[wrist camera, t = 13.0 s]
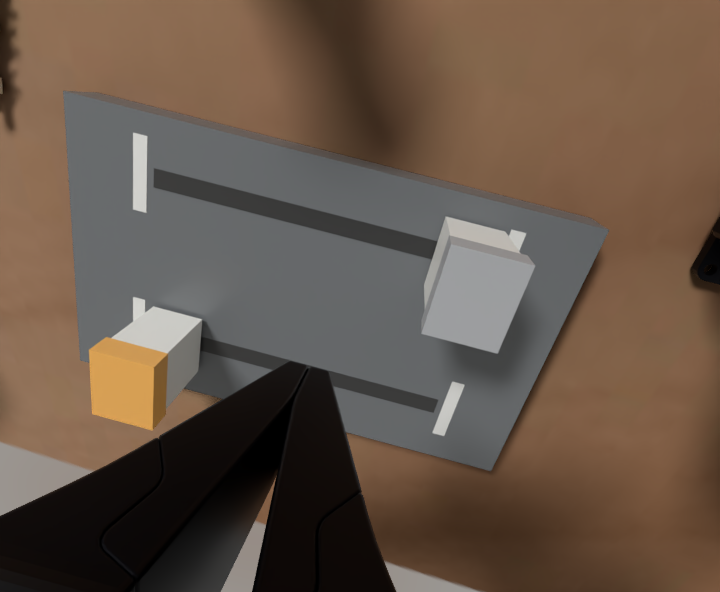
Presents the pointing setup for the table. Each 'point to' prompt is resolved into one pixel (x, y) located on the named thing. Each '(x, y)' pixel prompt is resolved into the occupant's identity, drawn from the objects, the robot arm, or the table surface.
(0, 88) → the woven mat
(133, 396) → the orange fader
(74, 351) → the table surface
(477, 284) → the grey fader
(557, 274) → the console
